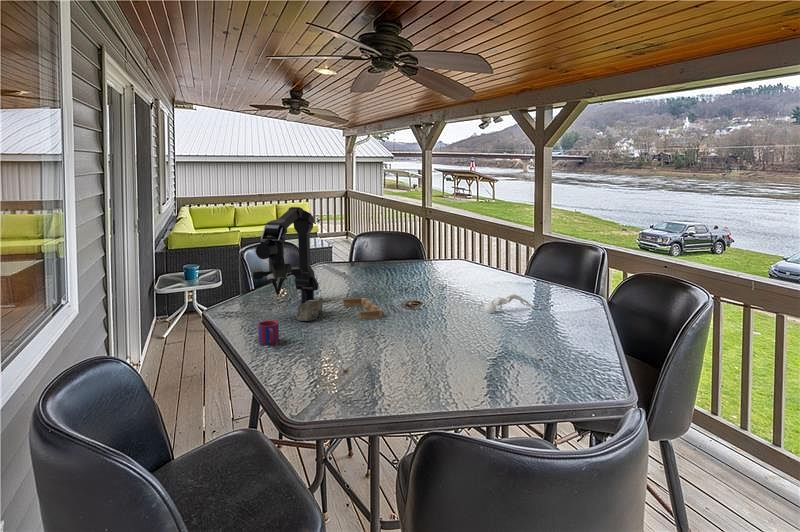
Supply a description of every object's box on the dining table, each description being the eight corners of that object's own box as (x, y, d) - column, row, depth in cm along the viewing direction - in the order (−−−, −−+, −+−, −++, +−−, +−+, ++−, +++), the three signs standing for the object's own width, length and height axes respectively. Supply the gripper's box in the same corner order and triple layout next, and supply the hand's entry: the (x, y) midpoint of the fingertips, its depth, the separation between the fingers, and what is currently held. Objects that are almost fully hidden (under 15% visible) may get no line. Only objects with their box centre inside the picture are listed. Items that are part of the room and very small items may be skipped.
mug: (278, 338, 180) (277, 319, 179) (280, 347, 170) (280, 328, 169) (258, 340, 178) (257, 321, 176) (259, 349, 168) (259, 329, 167)
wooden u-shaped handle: (342, 305, 224) (342, 299, 223) (363, 304, 228) (363, 297, 227) (360, 320, 203) (360, 312, 202) (382, 317, 207) (382, 310, 206)
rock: (300, 300, 214) (323, 294, 213) (304, 316, 215) (327, 310, 214) (290, 310, 197) (315, 304, 196) (295, 327, 198) (320, 320, 197)
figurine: (542, 301, 222) (497, 291, 210) (536, 324, 223) (490, 315, 211) (528, 296, 230) (483, 287, 219) (522, 318, 231) (477, 309, 219)
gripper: (254, 259, 186) (255, 301, 189) (305, 257, 193) (306, 297, 196) (249, 255, 196) (251, 295, 199) (298, 252, 203) (299, 291, 206)
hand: (277, 294), depth 200 cm, fingers closed
